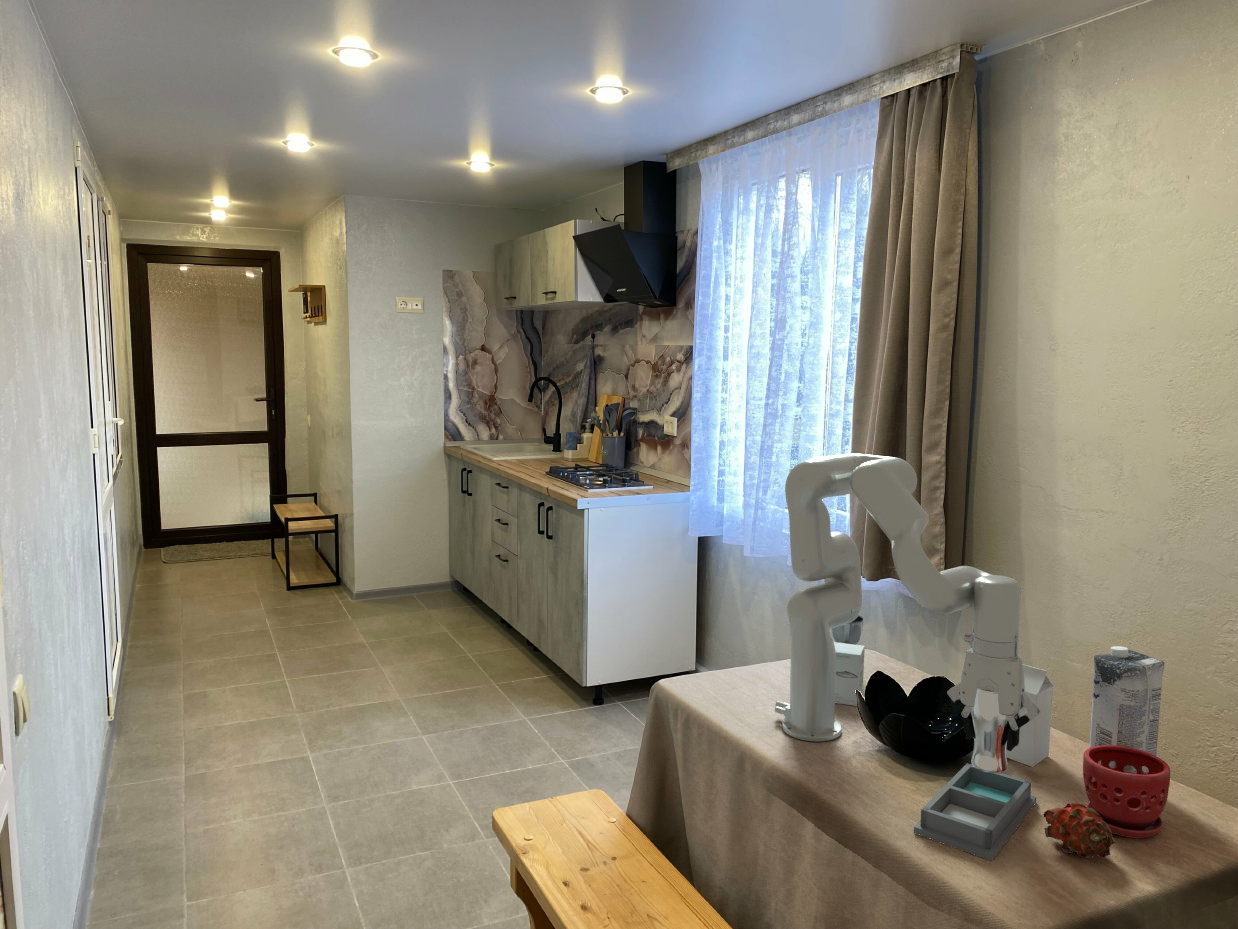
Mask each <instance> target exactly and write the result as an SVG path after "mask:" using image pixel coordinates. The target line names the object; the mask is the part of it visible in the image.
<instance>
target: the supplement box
mask: <svg viewBox="0 0 1238 929" xmlns="http://www.w3.org/2000/svg"><path fill="white" fill-rule="evenodd" d="M833 643H834V645H835V650H836V681H835V704H838V705H839V704H841V705H848V706H854V707H857V700H856V693H855V690H859V691H861V693H863V692H864V688H863V687H864V673H865V672H864V670H865V649H866V646H865V645H863V644H862V645H860V644H856V645H853V644H845V643H837V642H835V641H833ZM863 694H864V693H863Z"/></svg>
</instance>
